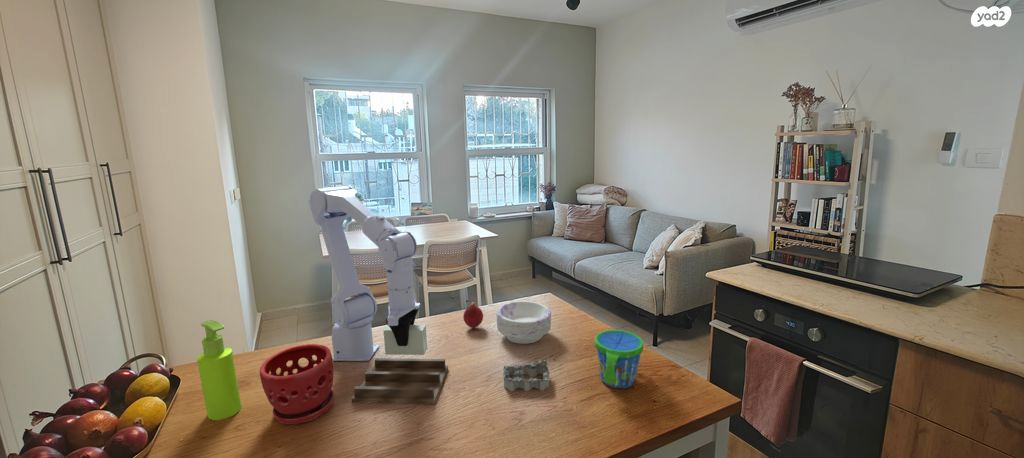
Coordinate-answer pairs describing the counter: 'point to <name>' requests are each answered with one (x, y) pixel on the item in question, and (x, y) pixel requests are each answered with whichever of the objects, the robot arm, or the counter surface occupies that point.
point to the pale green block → (415, 341)
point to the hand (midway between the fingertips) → (405, 341)
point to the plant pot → (299, 383)
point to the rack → (402, 381)
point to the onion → (473, 316)
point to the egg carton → (531, 370)
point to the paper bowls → (523, 321)
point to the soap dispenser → (218, 374)
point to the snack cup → (618, 357)
